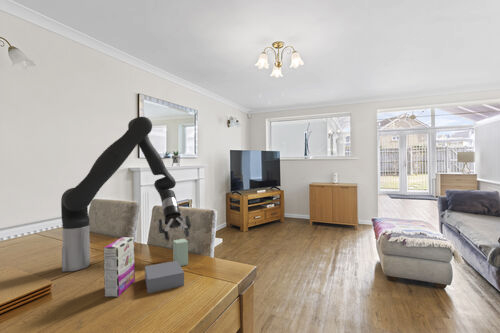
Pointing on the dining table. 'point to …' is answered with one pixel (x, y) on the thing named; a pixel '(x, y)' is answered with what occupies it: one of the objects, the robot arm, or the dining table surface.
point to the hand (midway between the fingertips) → (177, 238)
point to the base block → (163, 276)
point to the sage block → (180, 251)
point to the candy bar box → (119, 266)
